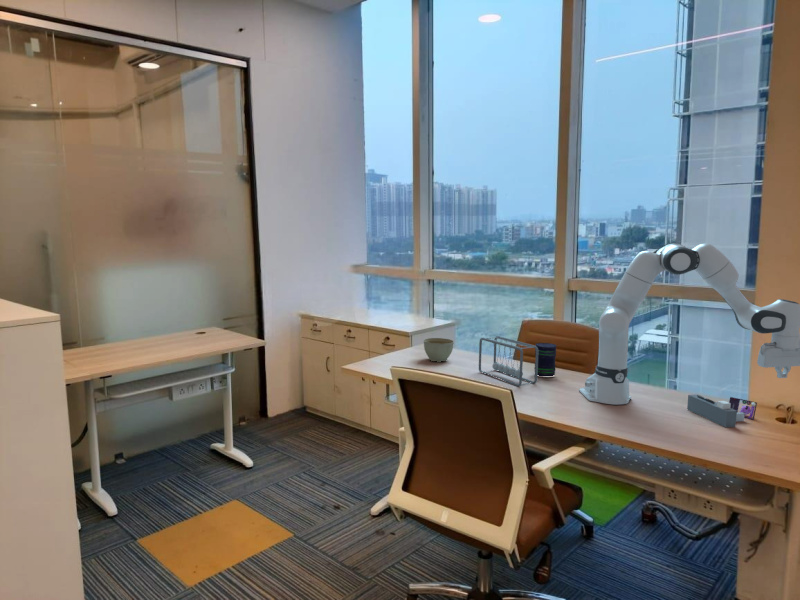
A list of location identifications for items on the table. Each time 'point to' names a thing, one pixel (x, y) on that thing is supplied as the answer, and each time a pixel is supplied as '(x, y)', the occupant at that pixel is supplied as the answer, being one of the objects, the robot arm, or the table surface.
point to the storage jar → (546, 359)
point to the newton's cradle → (506, 368)
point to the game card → (745, 408)
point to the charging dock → (714, 410)
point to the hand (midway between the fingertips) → (781, 377)
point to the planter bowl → (438, 348)
